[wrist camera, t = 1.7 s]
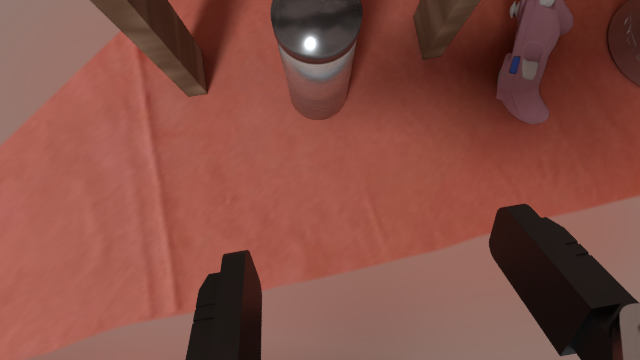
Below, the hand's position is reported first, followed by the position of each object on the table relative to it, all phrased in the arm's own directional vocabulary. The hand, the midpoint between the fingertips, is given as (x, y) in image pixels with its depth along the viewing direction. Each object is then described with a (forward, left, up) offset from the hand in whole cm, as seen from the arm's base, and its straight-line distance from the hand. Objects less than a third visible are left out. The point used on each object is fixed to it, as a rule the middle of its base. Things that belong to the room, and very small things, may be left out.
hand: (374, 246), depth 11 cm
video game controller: (-17, -11, -17) cm, 27 cm away
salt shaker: (0, -12, -17) cm, 21 cm away
